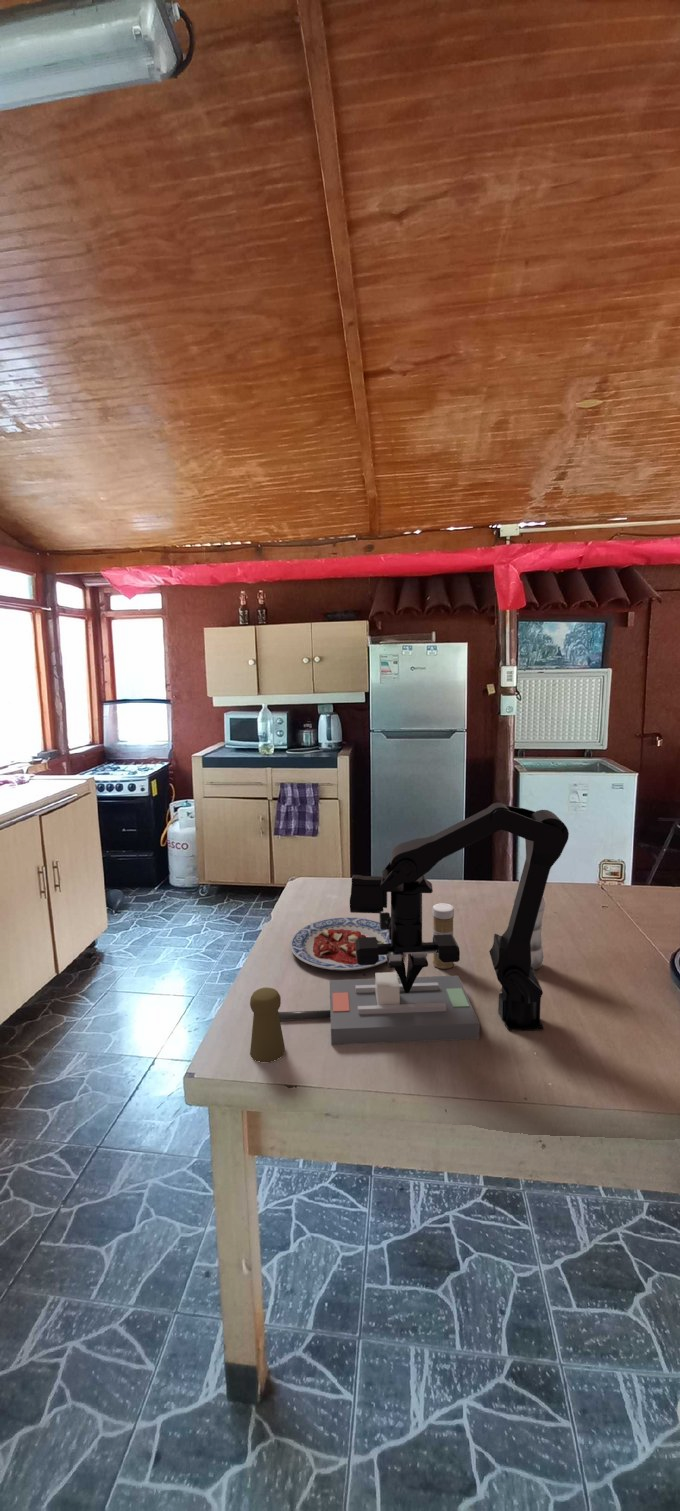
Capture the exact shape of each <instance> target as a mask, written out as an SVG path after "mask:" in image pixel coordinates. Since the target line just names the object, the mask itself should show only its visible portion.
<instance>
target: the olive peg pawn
mask: <svg viewBox="0 0 680 1511" xmlns="http://www.w3.org/2000/svg"><path fill="white" fill-rule="evenodd" d="M281 1004H282V1000H281V995H280V993H279V991H278V990H277V989H275V988H273V987H262V988H259V989H256V990H255V991H253V993H252V995H251V996H250V999H249V1007H250V1010H251V1011H252V1013H253V1016H252V1019H253V1020H252V1028H251V1040H250V1051H249V1055H250V1058H251V1057H252V1058H253V1059H252V1058H251V1059H252V1060H254V1061H255V1060H256V1061H255V1062H257V1061H260V1062H259V1063H261V1062H269V1063H272V1062H271V1061H273V1062H275V1061H274V1060H276V1061H278V1060H279V1059H278V1058H280V1057H281V1056H282V1057H283V1056H284V1055H283V1054H285V1053H286V1046H285V1040H284V1035H283V1031H282V1030H283V1029H282V1025H281V1020H280V1018H279V1013H278V1012H279V1010H280V1008H281ZM284 1052H285V1053H284ZM282 1057H281V1058H282ZM281 1058H280V1059H281ZM277 1059H278V1060H277Z"/></svg>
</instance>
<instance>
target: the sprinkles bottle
mask: <svg viewBox="0 0 680 1511" xmlns="http://www.w3.org/2000/svg"><path fill="white" fill-rule="evenodd" d="M432 917H433V927H432V936H433V935H452V936H453V937H454V917H455V908H454V906H453V905H451V904H449V903H444V902H440V903H436V904H434V905H433V906H432ZM432 954H433V958H432V959H433V960H432V964H433V965H434V967H436V968H437V969H441V970H447V969H448V970H449V969H451V968H453V966H454V965H455V964H454V963H455V962H442V961H441V960H440V959H439V957H438V953H432Z"/></svg>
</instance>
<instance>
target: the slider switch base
mask: <svg viewBox="0 0 680 1511" xmlns="http://www.w3.org/2000/svg"><path fill="white" fill-rule="evenodd" d="M397 978H398V982H399V986H400V1005H377V999H376V993H375V978H357V979H353V978H352V979H329V1008H330V1009H327V1010H326V1009H325V1010H322V1009H321V1010H303V1011H302V1010H299V1011H298V1010H297V1011H278V1013H279V1018H280V1021H294V1020H296V1021H297V1020H321V1019H323V1020H324V1019H330V1043H331V1046H333V1045H334V1046H335V1045H355V1044H357V1045H359V1044H382V1043H383V1044H385V1043H406V1042H407V1043H409V1042H411V1043H412V1042H413V1043H414V1042H437V1041H438V1042H439V1041H458V1040H461V1041H463V1040H479V1039H480V1021H479V1019H478V1017H477V1015H476V1013H475V1011H474V1008H473V1006H472V1004H471V1001H470V999H469V997H468V994H467V993H466V990H465V988H464V985H463V983H462V981H461V979H460V977H459V975H439V976H438V975H437V976H435V975H434V976H417V977H416V979H415V981H414V983H413V985H412V987H411V990H410V992H409V993H405V992H404V989H403V986H402V983H401V980H400V978H399V977H397Z"/></svg>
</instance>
